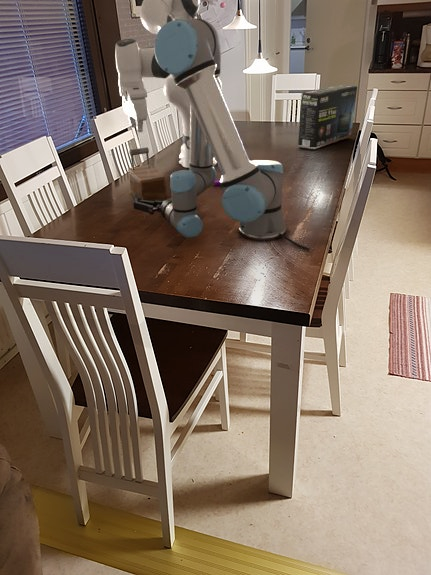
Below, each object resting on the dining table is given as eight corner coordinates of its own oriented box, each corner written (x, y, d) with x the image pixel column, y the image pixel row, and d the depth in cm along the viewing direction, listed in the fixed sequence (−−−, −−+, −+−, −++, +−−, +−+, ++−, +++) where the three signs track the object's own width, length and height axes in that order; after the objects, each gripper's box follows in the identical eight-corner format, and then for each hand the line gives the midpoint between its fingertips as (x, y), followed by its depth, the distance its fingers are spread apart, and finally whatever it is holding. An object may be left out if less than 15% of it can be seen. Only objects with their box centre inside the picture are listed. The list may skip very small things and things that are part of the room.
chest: (131, 193, 187) (128, 171, 182) (154, 189, 190) (151, 167, 185) (143, 207, 173) (140, 183, 168) (167, 202, 176) (165, 179, 172)
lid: (128, 170, 182) (125, 148, 178) (151, 167, 185) (148, 145, 181) (140, 183, 168) (137, 159, 164) (165, 178, 172) (163, 155, 167)
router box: (314, 151, 231) (318, 94, 217) (296, 148, 237) (299, 92, 224) (352, 138, 251) (358, 85, 238) (335, 135, 258) (340, 83, 245)
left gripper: (116, 87, 174) (121, 125, 181) (130, 94, 158) (135, 135, 165) (132, 86, 176) (137, 123, 183) (148, 92, 160) (152, 133, 167)
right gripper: (139, 230, 149) (122, 209, 165) (209, 215, 158) (186, 197, 174) (137, 208, 145) (119, 189, 162) (208, 194, 154) (184, 177, 170)
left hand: (136, 129), depth 174 cm, fingers open, 8 cm apart
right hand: (154, 193), depth 168 cm, fingers open, 13 cm apart
